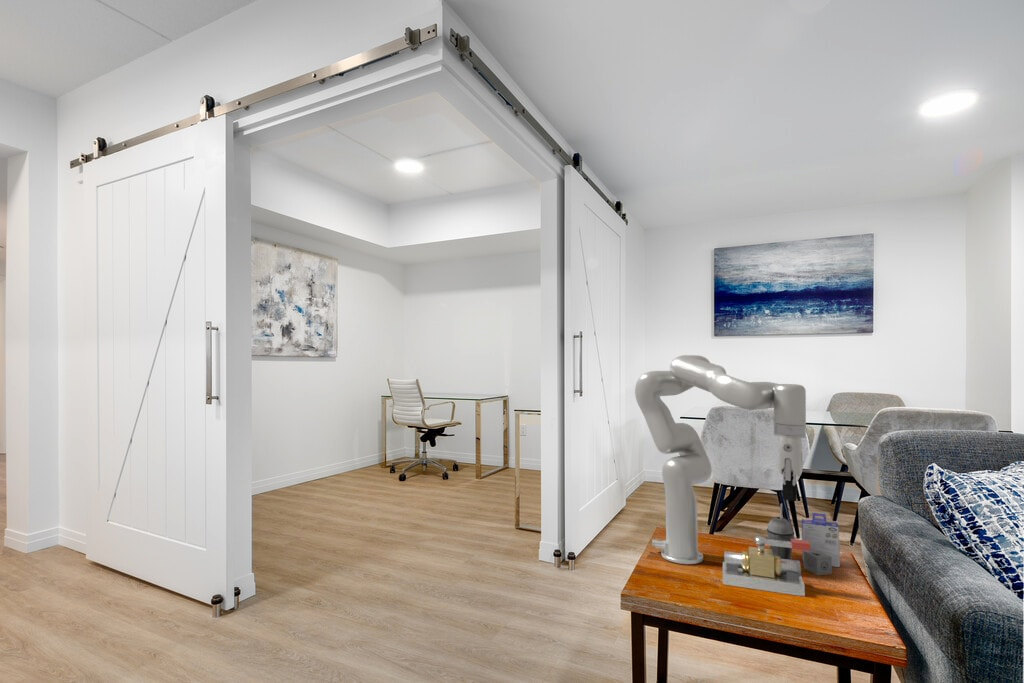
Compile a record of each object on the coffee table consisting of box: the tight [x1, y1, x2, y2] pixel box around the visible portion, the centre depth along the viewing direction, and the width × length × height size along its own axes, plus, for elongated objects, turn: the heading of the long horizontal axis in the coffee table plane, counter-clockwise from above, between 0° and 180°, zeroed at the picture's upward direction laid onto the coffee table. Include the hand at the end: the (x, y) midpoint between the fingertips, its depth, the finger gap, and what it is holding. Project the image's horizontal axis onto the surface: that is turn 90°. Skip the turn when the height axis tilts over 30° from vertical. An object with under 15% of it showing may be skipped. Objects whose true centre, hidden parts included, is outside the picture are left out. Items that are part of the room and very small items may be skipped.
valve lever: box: [754, 535, 811, 551], centre depth 142 cm, size 14×3×2 cm, turn 69°
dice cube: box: [803, 551, 833, 576], centre depth 152 cm, size 5×5×5 cm
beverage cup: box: [766, 503, 795, 560], centre depth 153 cm, size 7×7×20 cm
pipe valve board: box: [722, 544, 806, 597], centre depth 144 cm, size 20×9×11 cm, turn 68°
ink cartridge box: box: [801, 512, 841, 568], centre depth 159 cm, size 10×6×14 cm, turn 65°
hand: (789, 499), depth 137 cm, fingers closed
